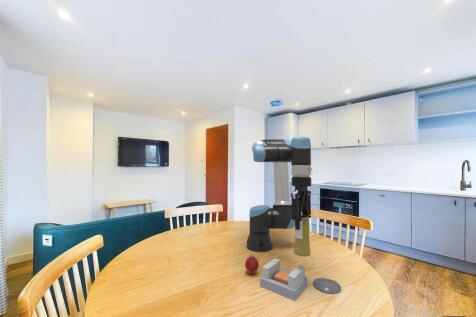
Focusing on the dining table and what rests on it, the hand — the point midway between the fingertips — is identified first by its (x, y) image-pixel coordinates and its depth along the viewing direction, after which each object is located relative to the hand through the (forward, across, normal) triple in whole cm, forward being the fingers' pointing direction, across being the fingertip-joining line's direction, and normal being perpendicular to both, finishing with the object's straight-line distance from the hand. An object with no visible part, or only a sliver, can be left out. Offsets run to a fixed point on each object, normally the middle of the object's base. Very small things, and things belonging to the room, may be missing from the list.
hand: (302, 235), depth 80 cm
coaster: (+19, +6, -7) cm, 21 cm away
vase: (+7, 0, 0) cm, 7 cm away
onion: (+19, -5, +21) cm, 29 cm away
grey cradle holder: (+19, -4, +6) cm, 20 cm away
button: (+19, -4, +6) cm, 20 cm away
